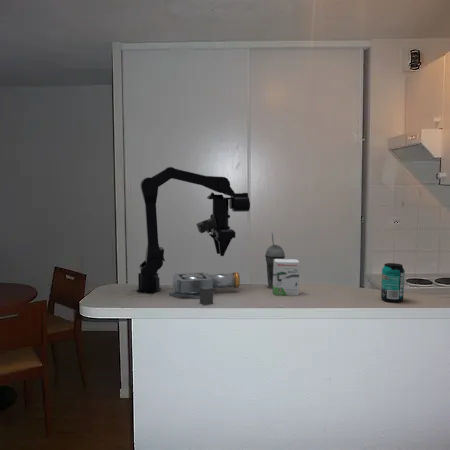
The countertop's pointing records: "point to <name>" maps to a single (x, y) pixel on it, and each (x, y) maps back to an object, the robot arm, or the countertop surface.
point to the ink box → (286, 277)
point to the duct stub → (189, 294)
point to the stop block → (206, 295)
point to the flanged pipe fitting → (205, 281)
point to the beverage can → (392, 282)
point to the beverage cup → (272, 254)
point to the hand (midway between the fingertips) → (220, 254)
